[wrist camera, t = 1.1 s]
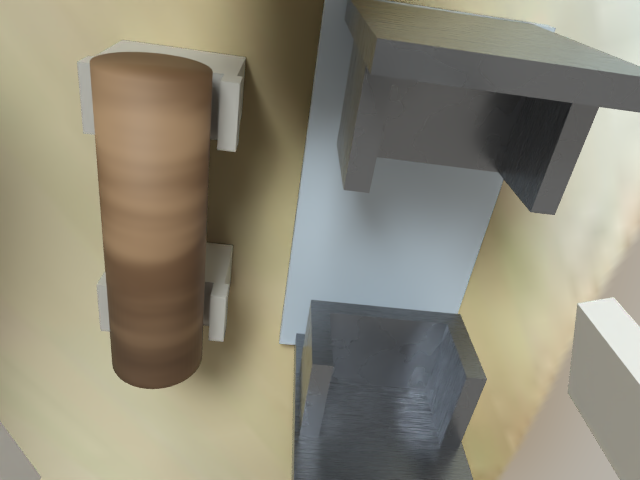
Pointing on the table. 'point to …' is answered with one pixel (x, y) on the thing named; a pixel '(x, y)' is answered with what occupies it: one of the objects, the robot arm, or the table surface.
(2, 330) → the table surface
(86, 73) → the rest blocks
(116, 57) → the brown cylinder
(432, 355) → the brackets
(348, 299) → the wall board
